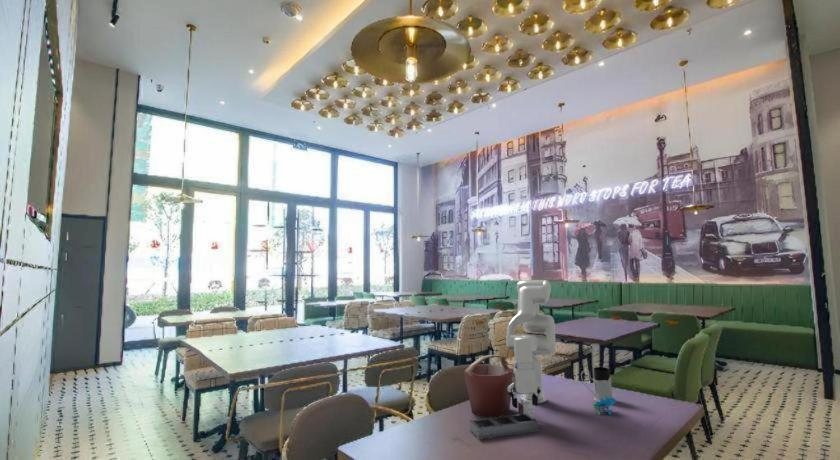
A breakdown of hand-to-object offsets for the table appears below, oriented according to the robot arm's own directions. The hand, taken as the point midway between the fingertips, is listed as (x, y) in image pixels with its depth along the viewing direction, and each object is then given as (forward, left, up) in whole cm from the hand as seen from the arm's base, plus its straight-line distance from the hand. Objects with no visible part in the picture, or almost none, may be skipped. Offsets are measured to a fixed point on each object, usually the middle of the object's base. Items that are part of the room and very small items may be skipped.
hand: (525, 406), depth 171 cm
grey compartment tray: (+8, -14, -6) cm, 17 cm away
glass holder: (-13, +48, -6) cm, 50 cm away
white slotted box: (-1, +1, -6) cm, 6 cm away
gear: (+3, +38, -6) cm, 39 cm away
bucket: (-15, -9, -6) cm, 18 cm away
